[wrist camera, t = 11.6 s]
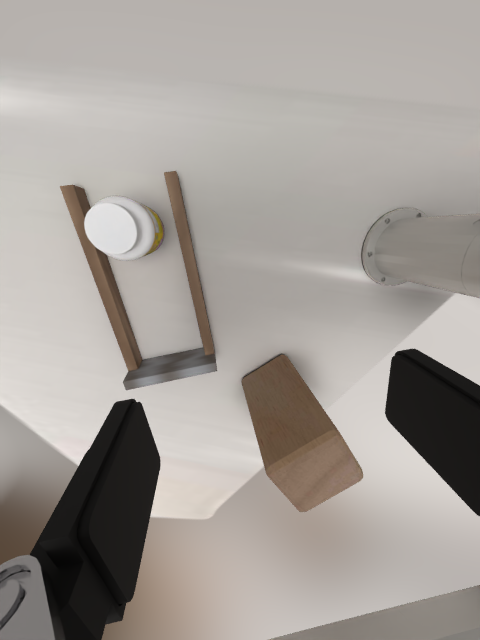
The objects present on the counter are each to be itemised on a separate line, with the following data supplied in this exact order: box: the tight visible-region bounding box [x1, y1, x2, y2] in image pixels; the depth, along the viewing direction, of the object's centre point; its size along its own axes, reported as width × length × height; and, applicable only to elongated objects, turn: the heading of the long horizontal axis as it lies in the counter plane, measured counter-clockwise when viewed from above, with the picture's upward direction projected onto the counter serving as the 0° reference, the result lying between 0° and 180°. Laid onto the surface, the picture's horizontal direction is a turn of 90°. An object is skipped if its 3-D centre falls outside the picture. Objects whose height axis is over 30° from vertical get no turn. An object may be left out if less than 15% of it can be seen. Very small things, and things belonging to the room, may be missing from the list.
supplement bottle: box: [84, 196, 164, 261], centre depth 29 cm, size 7×7×13 cm
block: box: [242, 355, 363, 512], centre depth 38 cm, size 10×10×20 cm
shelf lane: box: [60, 171, 217, 390], centre depth 35 cm, size 14×28×6 cm, turn 9°
